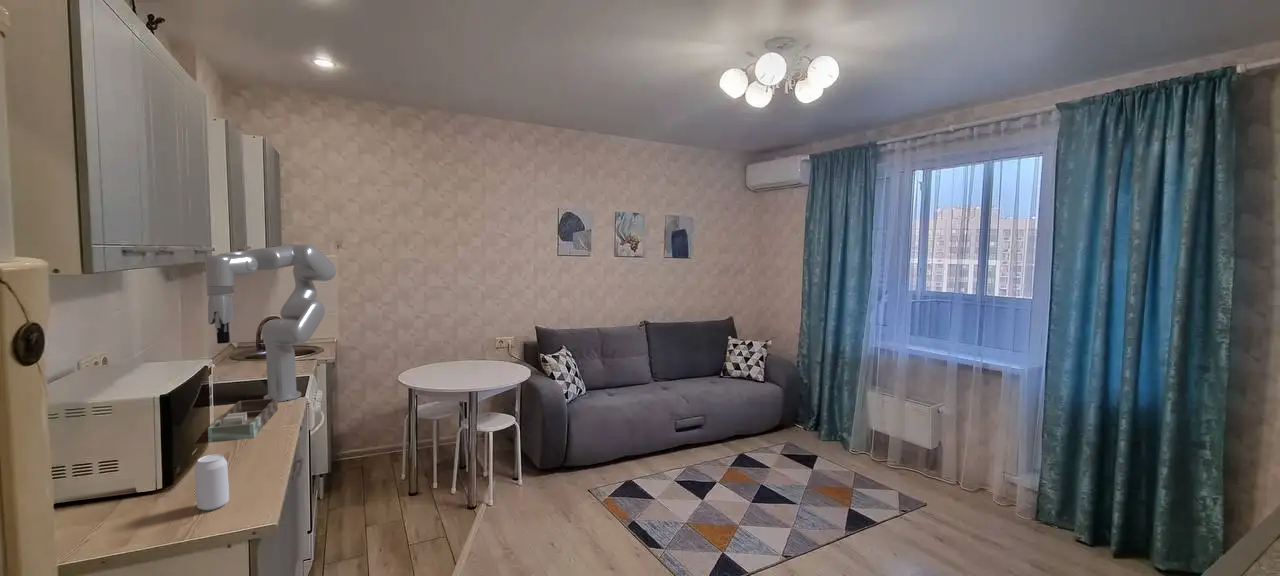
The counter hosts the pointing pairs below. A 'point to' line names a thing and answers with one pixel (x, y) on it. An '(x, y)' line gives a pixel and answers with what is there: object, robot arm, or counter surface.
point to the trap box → (256, 420)
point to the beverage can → (211, 482)
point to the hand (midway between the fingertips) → (223, 342)
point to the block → (235, 419)
